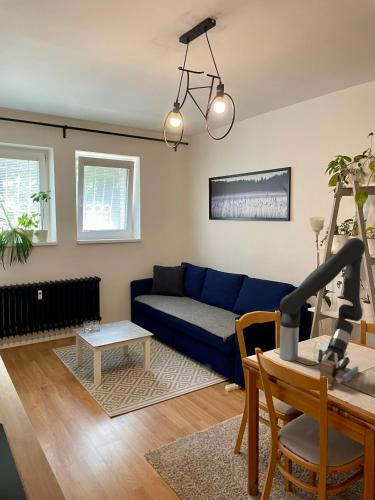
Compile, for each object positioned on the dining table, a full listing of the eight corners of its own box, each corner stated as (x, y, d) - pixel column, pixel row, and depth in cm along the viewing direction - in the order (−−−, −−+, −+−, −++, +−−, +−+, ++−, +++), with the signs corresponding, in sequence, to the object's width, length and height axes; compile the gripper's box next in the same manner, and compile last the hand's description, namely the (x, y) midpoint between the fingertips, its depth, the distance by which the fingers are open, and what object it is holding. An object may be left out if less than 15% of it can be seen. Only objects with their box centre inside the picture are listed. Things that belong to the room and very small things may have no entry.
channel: (336, 365, 183) (336, 360, 183) (358, 371, 176) (358, 366, 176) (322, 375, 172) (322, 370, 171) (344, 382, 164) (345, 377, 164)
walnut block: (324, 378, 168) (325, 358, 167) (337, 383, 164) (338, 362, 163) (315, 385, 162) (316, 364, 161) (328, 389, 158) (330, 368, 157)
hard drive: (318, 342, 212) (324, 350, 200) (332, 343, 211) (339, 351, 199) (318, 345, 212) (324, 353, 200) (332, 345, 212) (339, 353, 199)
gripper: (322, 333, 172) (309, 365, 165) (353, 341, 162) (341, 375, 155) (326, 342, 177) (313, 373, 169) (357, 349, 167) (345, 383, 159)
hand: (327, 374), depth 162 cm, fingers closed on walnut block, 5 cm apart
